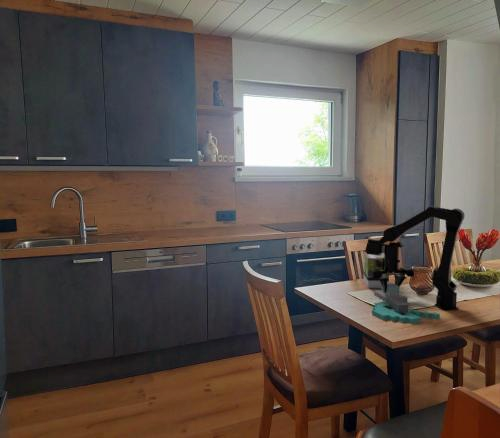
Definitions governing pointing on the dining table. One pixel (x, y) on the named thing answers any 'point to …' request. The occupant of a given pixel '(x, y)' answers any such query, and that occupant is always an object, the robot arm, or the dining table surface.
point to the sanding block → (390, 293)
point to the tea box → (370, 265)
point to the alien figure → (400, 314)
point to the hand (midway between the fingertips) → (390, 292)
